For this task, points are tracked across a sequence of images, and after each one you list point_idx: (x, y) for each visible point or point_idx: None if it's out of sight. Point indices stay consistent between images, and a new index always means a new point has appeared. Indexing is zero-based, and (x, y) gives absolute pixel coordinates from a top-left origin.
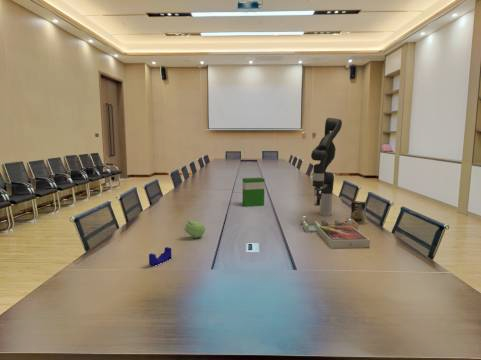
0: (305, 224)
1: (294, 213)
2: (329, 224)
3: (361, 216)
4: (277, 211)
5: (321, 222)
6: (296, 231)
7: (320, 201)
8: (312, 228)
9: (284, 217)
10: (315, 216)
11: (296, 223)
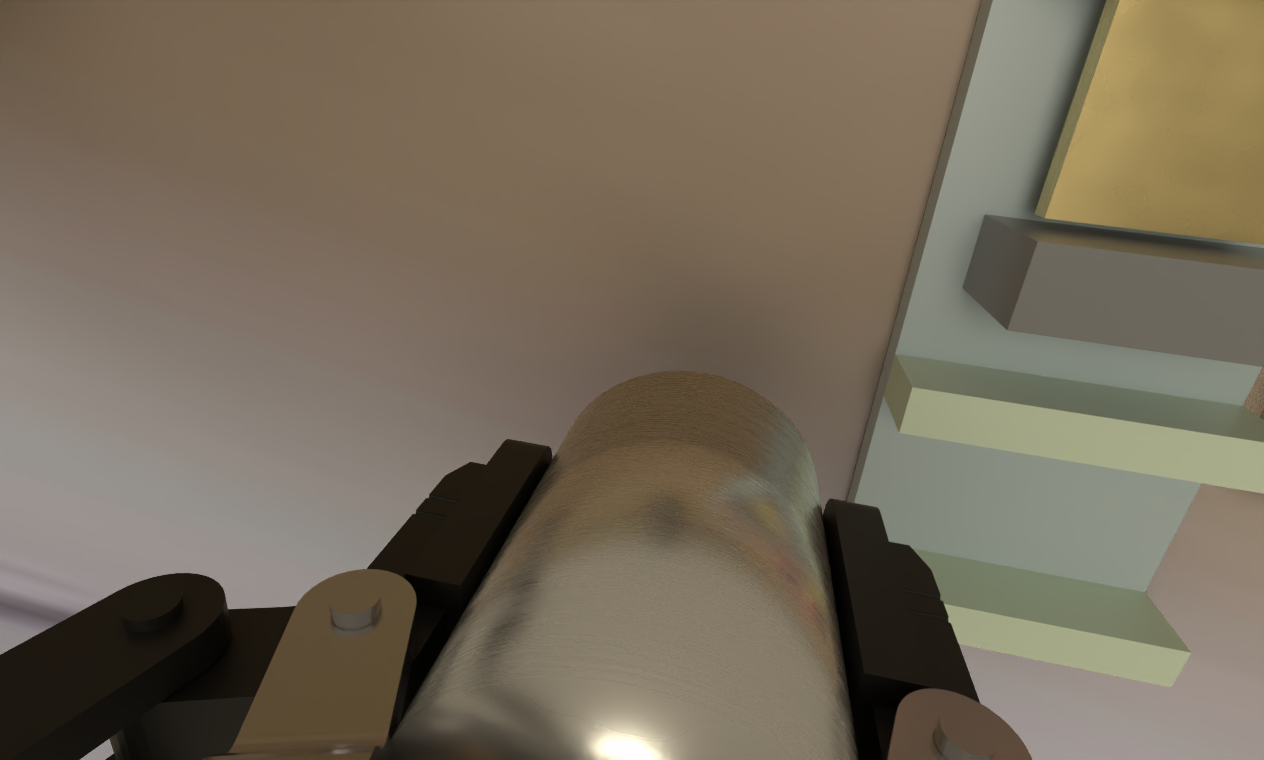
0: (1075, 664)
1: (42, 400)
2: (1116, 141)
3: None
4: (7, 577)
5: (992, 312)
6: (1025, 698)
7: (797, 523)
8: (1055, 493)
9: (294, 597)
10: (143, 102)
11: None
